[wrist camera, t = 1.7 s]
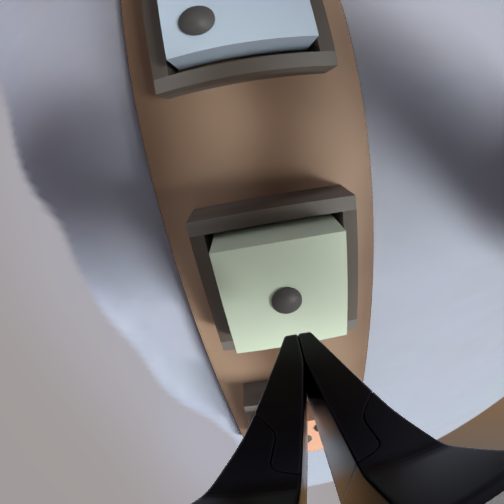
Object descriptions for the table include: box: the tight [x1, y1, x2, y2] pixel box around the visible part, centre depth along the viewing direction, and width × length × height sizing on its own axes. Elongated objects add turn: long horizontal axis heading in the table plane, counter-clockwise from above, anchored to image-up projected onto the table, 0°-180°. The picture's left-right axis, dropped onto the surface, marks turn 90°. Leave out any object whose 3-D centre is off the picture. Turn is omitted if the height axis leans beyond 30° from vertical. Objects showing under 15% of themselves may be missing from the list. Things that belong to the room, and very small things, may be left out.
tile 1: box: [209, 214, 348, 353], centre depth 12 cm, size 5×5×2 cm
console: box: [121, 0, 374, 437], centre depth 14 cm, size 10×36×3 cm, turn 10°
